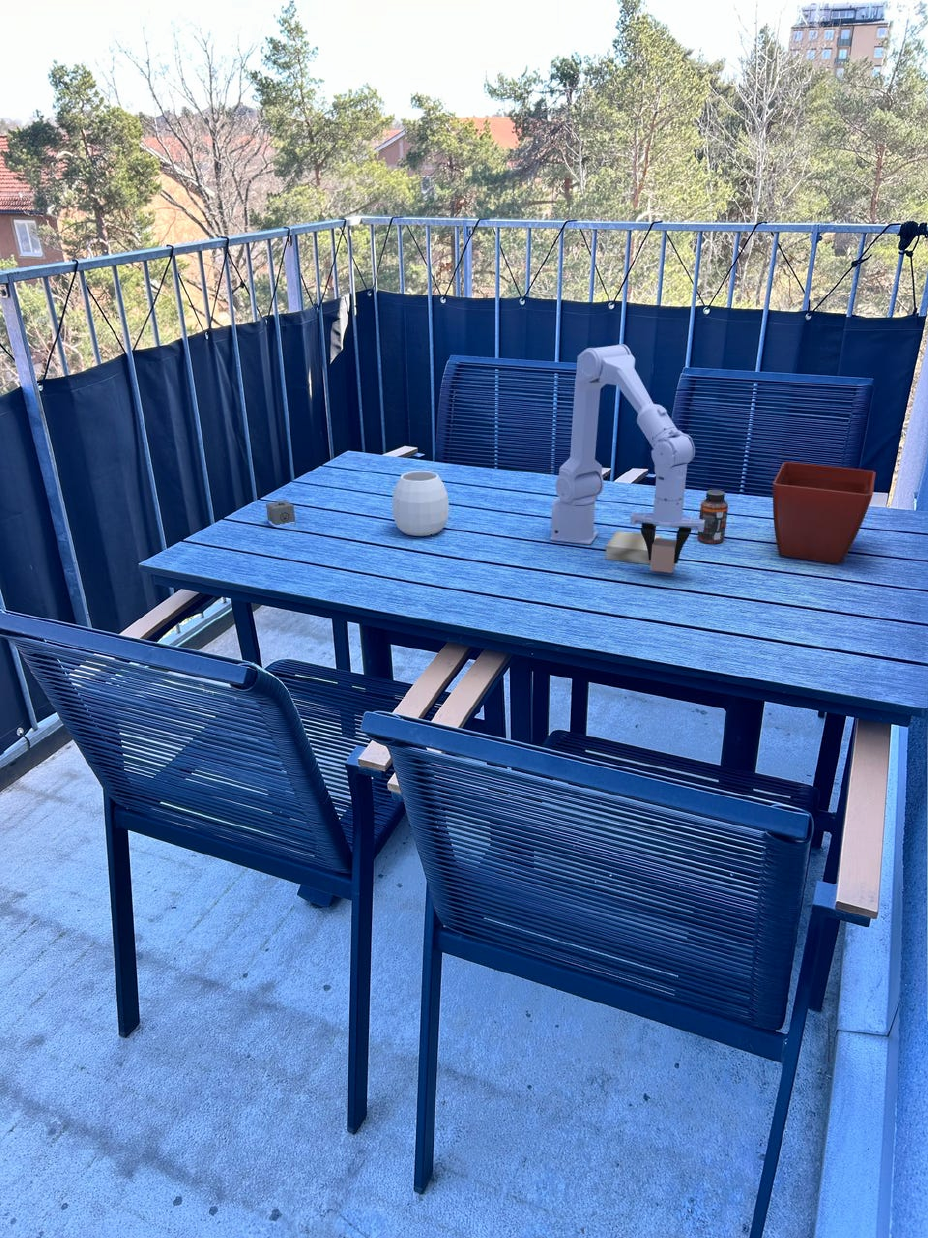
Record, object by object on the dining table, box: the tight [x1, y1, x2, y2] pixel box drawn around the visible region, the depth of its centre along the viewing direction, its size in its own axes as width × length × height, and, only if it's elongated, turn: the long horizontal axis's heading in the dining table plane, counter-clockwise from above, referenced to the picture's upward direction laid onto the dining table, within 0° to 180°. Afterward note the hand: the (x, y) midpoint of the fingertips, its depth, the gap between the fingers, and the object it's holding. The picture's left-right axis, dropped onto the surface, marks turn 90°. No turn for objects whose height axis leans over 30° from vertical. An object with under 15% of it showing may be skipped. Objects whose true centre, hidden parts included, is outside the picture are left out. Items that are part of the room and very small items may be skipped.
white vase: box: [391, 470, 450, 537], centre depth 207 cm, size 13×13×14 cm
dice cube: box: [265, 499, 296, 525], centre depth 215 cm, size 5×5×5 cm
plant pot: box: [772, 461, 877, 565], centre depth 191 cm, size 19×19×17 cm
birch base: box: [605, 530, 662, 565], centre depth 194 cm, size 10×10×3 cm
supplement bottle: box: [697, 489, 729, 545], centre depth 199 cm, size 6×6×11 cm
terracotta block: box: [649, 537, 677, 574], centre depth 182 cm, size 4×4×6 cm
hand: (663, 560), depth 182 cm, fingers closed on terracotta block, 4 cm apart
